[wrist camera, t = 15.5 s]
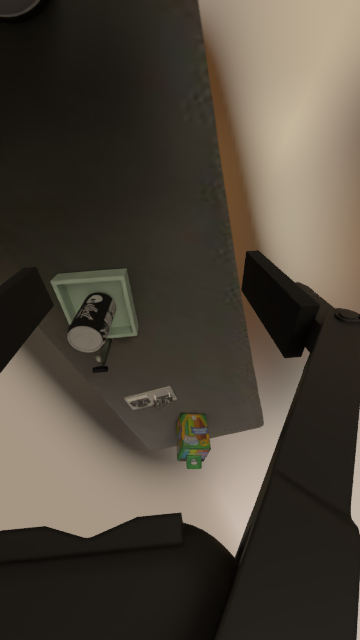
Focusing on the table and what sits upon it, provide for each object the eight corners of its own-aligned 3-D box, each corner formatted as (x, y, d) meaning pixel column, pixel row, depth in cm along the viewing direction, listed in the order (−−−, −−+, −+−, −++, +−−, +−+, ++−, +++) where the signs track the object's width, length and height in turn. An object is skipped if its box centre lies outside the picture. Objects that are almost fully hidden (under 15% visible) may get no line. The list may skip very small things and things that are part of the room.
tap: (102, 323, 51) (88, 360, 41) (114, 322, 51) (103, 359, 41) (106, 336, 53) (93, 374, 43) (117, 335, 53) (107, 372, 43)
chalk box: (205, 413, 75) (214, 460, 63) (199, 427, 80) (206, 473, 68) (179, 412, 74) (183, 460, 62) (175, 426, 79) (177, 473, 67)
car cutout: (169, 385, 65) (170, 398, 62) (176, 398, 69) (177, 411, 65) (124, 397, 67) (121, 410, 63) (133, 408, 71) (131, 422, 67)
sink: (57, 273, 43) (50, 281, 40) (126, 268, 43) (123, 275, 40) (81, 331, 51) (76, 341, 48) (138, 326, 52) (137, 335, 49)
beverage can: (78, 301, 46) (56, 338, 36) (100, 284, 44) (82, 318, 34) (102, 321, 49) (87, 359, 40) (123, 306, 48) (113, 342, 38)
